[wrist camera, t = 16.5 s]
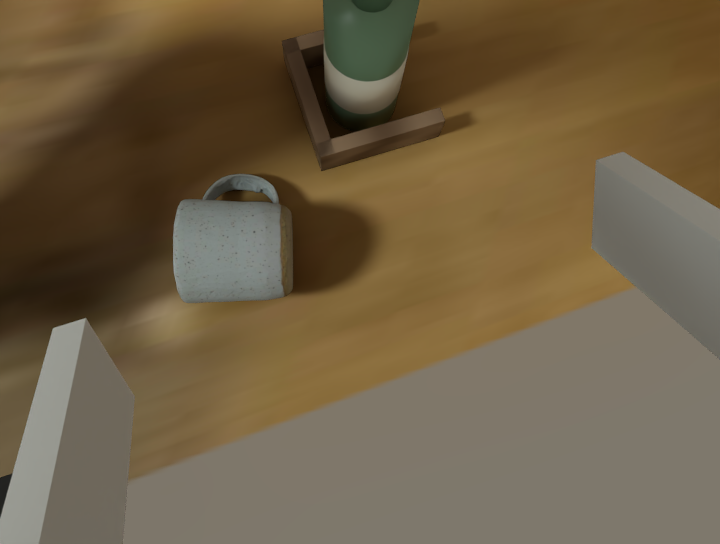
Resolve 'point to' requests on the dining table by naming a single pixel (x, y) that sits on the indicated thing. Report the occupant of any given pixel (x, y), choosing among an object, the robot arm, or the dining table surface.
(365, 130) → the u rest
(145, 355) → the dining table surface
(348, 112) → the bottle
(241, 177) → the ceramic mug
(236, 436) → the dining table surface
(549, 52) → the dining table surface
